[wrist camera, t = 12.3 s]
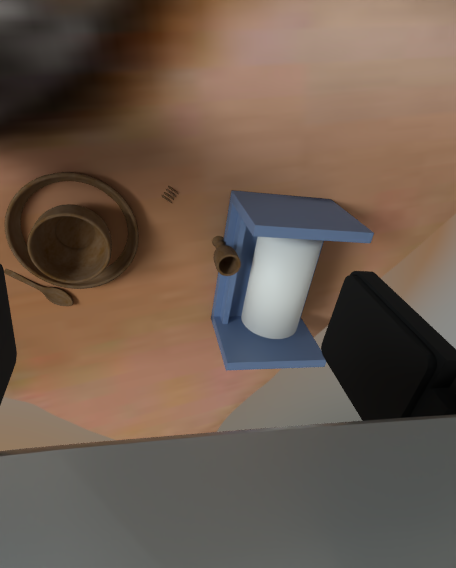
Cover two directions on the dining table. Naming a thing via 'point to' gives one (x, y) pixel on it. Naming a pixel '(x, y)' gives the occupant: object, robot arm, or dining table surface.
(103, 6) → the dining table surface
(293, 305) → the roll
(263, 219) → the holder
